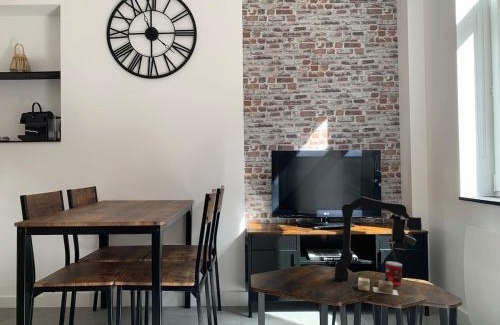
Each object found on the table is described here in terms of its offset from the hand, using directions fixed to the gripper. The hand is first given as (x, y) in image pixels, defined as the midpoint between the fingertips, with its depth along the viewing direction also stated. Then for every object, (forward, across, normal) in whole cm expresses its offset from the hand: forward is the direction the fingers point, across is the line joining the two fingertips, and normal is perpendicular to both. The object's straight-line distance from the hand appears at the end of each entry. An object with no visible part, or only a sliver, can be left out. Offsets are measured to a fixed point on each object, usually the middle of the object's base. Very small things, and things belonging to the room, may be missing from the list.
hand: (395, 260), depth 189 cm
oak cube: (+14, -10, +15) cm, 23 cm away
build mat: (+14, -10, +5) cm, 18 cm away
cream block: (+13, -10, +5) cm, 17 cm away
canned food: (+14, +6, 0) cm, 16 cm away
